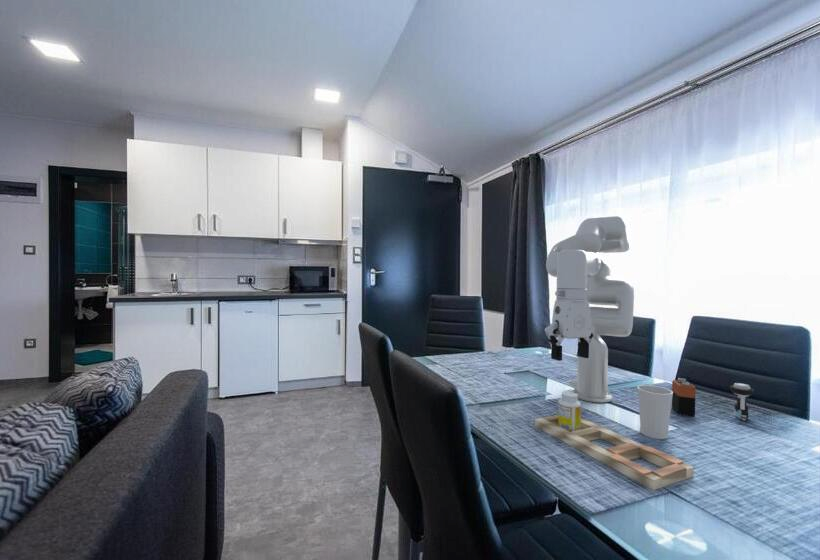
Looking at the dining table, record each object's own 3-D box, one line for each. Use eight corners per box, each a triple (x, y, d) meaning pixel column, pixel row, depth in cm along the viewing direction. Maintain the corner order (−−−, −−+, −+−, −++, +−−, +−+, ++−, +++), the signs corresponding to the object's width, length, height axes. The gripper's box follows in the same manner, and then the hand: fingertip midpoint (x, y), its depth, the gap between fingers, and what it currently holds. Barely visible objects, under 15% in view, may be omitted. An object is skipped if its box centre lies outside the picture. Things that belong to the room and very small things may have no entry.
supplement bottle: (576, 427, 102) (577, 391, 102) (583, 436, 96) (583, 397, 96) (555, 426, 103) (556, 390, 103) (561, 434, 97) (561, 396, 97)
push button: (756, 424, 106) (757, 389, 105) (732, 419, 109) (732, 386, 108) (751, 416, 111) (751, 384, 111) (728, 413, 114) (728, 381, 114)
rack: (534, 426, 102) (535, 418, 102) (569, 419, 108) (569, 411, 108) (653, 490, 72) (653, 478, 72) (693, 476, 77) (693, 465, 77)
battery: (687, 409, 117) (688, 378, 117) (695, 416, 111) (696, 384, 111) (671, 407, 119) (671, 376, 118) (678, 414, 112) (679, 382, 112)
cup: (661, 442, 93) (662, 396, 93) (630, 430, 100) (630, 387, 100) (678, 436, 97) (679, 391, 96) (647, 425, 104) (647, 383, 103)
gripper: (557, 296, 92) (556, 363, 92) (605, 296, 99) (604, 359, 99) (536, 294, 99) (535, 357, 99) (582, 294, 106) (581, 353, 106)
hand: (570, 358), depth 99 cm, fingers open, 9 cm apart
